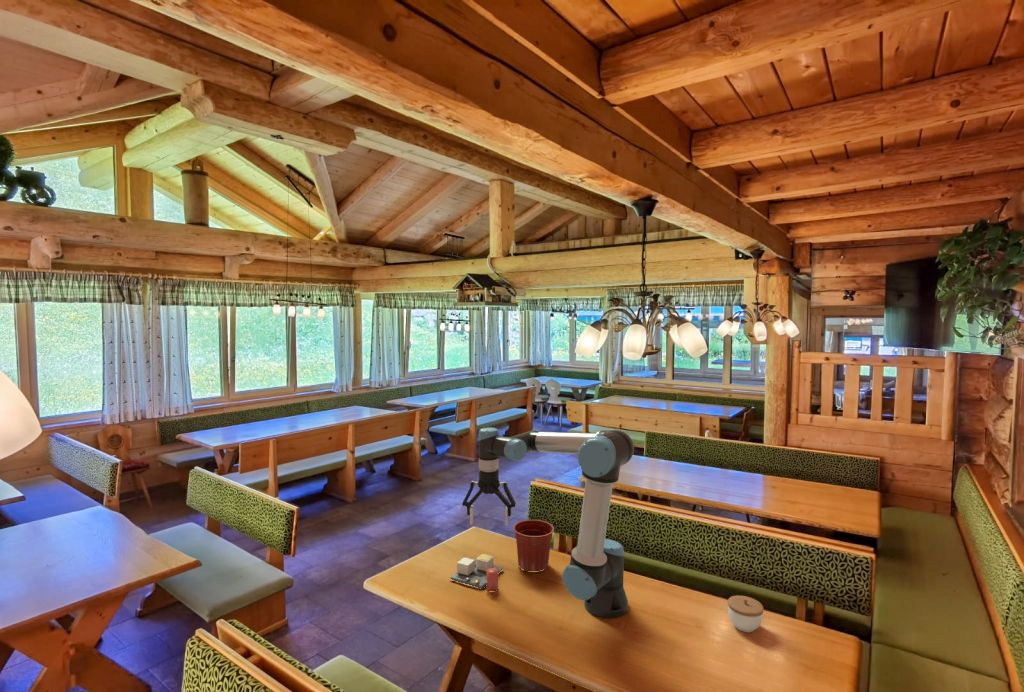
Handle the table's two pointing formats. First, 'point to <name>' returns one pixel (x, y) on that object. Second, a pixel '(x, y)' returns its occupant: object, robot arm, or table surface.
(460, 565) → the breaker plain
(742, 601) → the lidded jar
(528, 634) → the table surface
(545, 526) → the flower pot
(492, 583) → the lockout cap
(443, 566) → the table surface
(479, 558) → the block
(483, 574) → the panel
